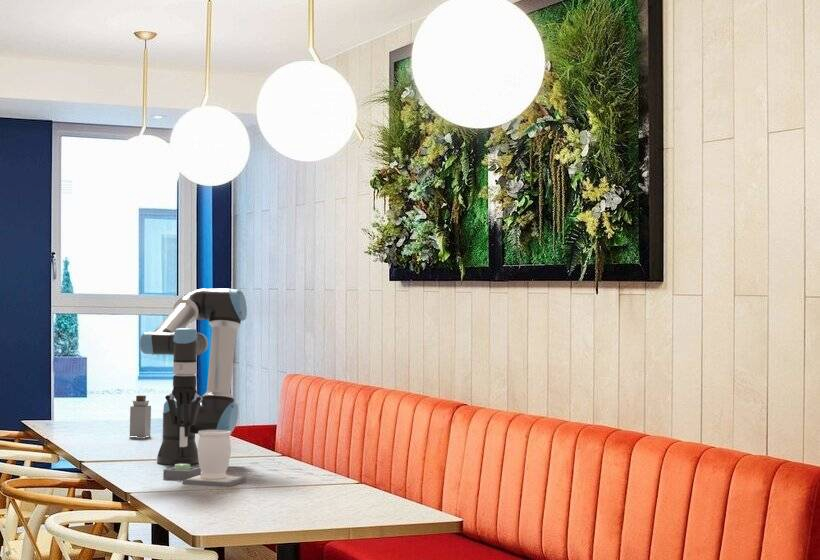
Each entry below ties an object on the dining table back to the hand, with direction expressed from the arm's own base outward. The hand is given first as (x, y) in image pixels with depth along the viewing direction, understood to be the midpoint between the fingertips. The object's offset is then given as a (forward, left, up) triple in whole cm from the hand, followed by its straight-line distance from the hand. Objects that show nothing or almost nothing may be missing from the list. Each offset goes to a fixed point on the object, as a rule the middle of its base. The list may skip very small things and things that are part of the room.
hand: (183, 446), depth 368 cm
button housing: (0, -1, -10) cm, 10 cm away
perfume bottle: (-72, +100, -11) cm, 124 cm away
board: (+14, -6, -10) cm, 18 cm away
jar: (+14, -5, -9) cm, 17 cm away
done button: (0, -1, -9) cm, 9 cm away
